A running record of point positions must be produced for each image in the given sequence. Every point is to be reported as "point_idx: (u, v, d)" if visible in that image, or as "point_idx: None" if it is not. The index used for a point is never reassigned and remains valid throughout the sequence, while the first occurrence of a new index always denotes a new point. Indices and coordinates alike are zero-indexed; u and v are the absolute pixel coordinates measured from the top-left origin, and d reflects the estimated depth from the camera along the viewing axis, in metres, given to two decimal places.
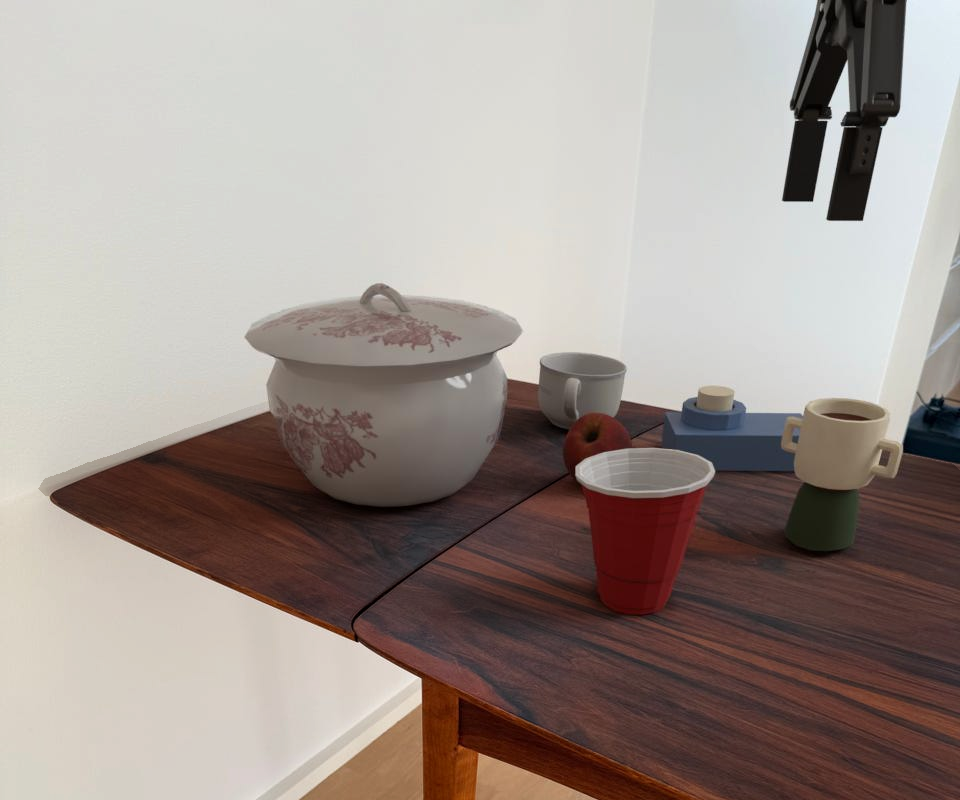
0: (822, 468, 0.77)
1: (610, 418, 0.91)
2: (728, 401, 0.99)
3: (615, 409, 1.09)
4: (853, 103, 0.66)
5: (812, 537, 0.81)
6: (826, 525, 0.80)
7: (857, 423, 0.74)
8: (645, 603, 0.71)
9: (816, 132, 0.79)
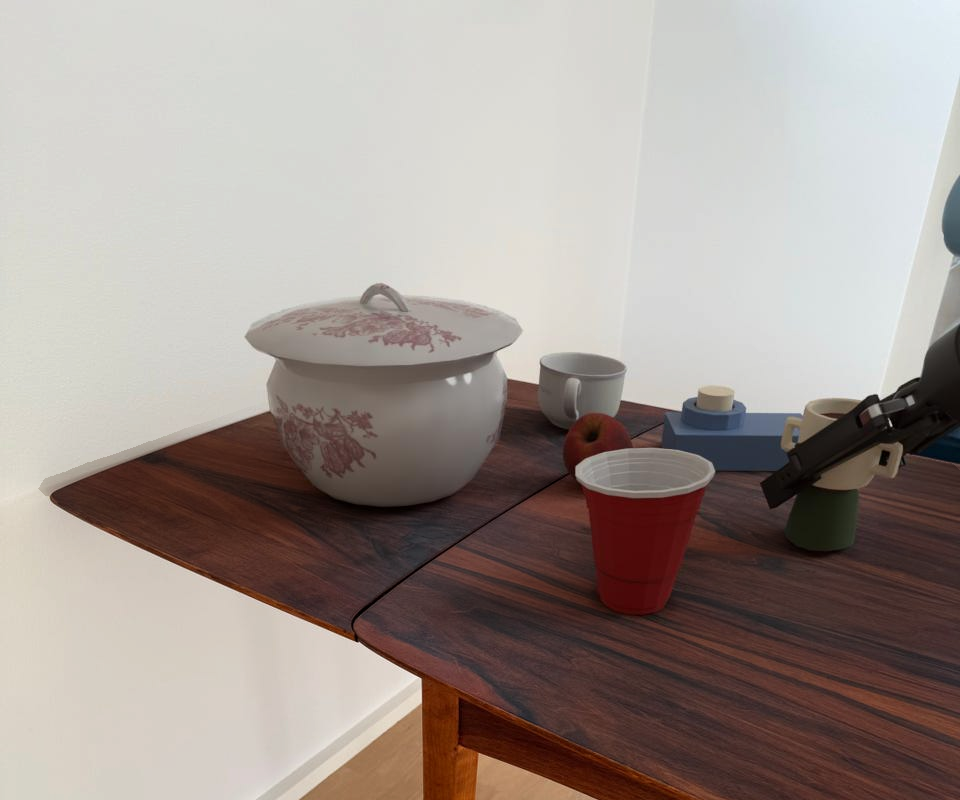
0: None
1: (610, 418, 0.91)
2: (728, 401, 0.99)
3: (615, 409, 1.09)
4: (903, 453, 0.78)
5: (812, 537, 0.81)
6: (826, 525, 0.80)
7: None
8: (645, 603, 0.71)
9: None
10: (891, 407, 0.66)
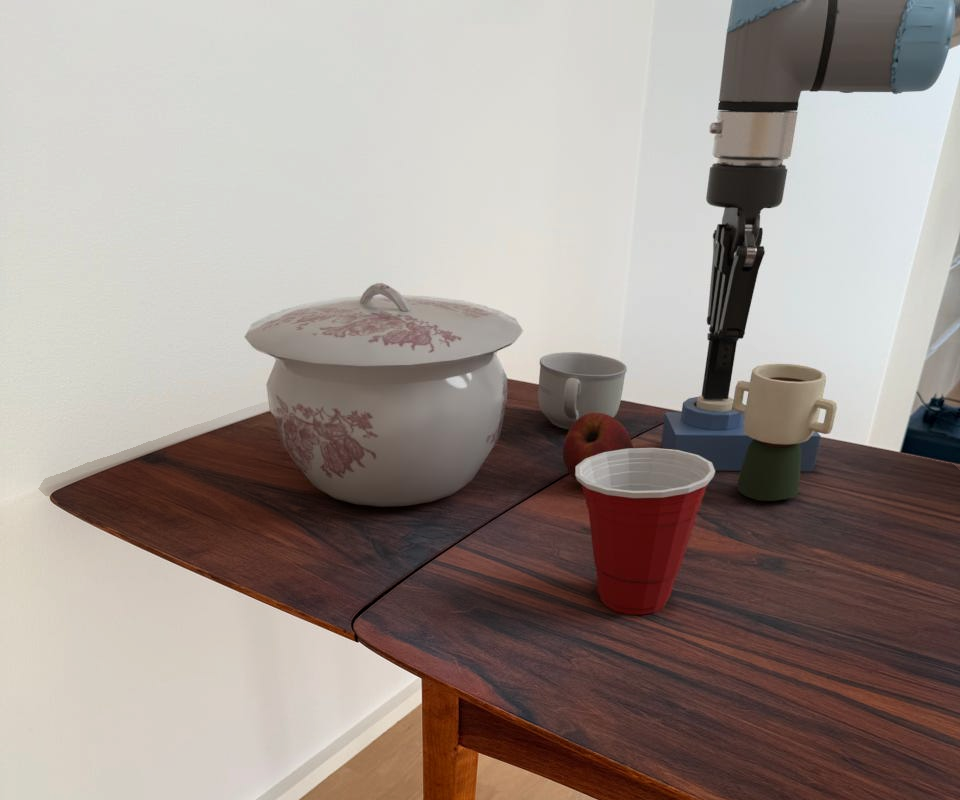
0: (767, 425, 0.87)
1: (610, 418, 0.91)
2: (727, 410, 0.99)
3: (615, 409, 1.09)
4: (717, 324, 0.94)
5: (759, 488, 0.90)
6: (772, 477, 0.89)
7: (795, 383, 0.84)
8: (645, 603, 0.71)
9: None
10: None
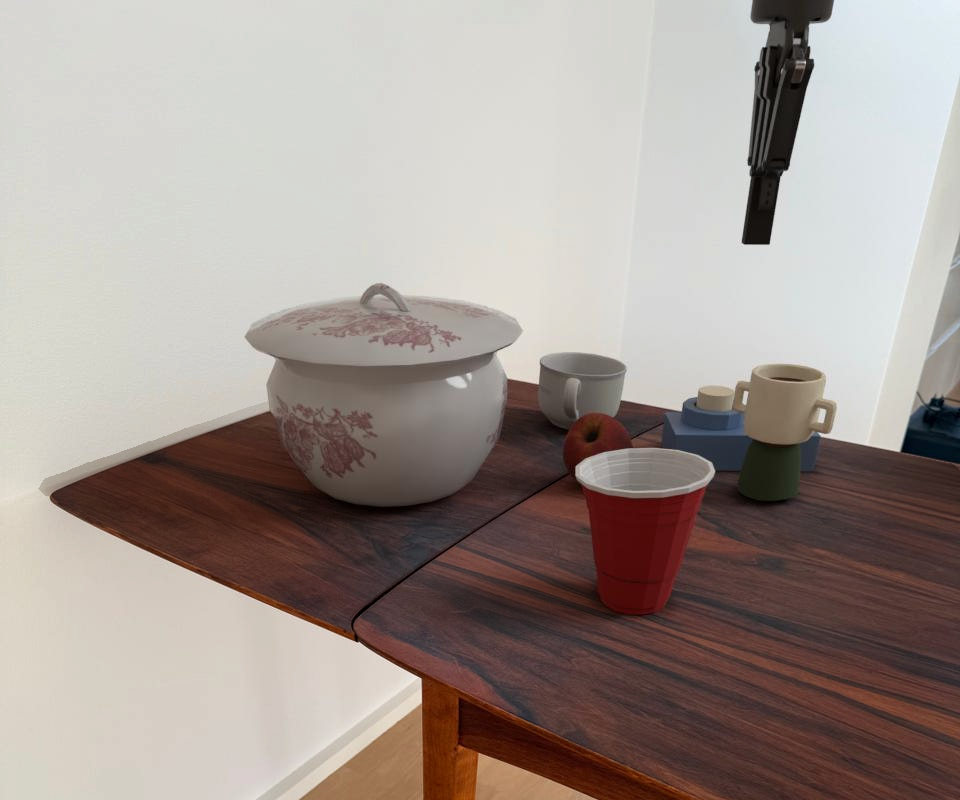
0: (767, 425, 0.87)
1: (610, 418, 0.91)
2: (728, 401, 0.99)
3: (615, 409, 1.09)
4: (760, 158, 0.90)
5: (759, 488, 0.90)
6: (772, 477, 0.89)
7: (795, 383, 0.84)
8: (645, 603, 0.71)
9: None
10: None
